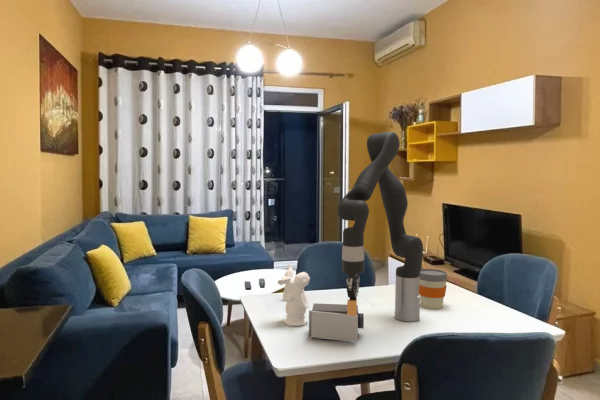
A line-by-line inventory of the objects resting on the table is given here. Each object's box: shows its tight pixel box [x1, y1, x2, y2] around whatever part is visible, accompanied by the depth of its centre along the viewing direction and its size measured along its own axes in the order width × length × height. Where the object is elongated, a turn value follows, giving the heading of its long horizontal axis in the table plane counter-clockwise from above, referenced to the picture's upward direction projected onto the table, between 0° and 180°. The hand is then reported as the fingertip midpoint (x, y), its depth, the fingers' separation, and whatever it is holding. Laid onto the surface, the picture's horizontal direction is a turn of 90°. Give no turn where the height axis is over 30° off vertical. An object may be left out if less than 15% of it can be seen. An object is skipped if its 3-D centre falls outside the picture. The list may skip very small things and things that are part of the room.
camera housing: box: [311, 303, 365, 340], centre depth 162 cm, size 18×8×10 cm, turn 84°
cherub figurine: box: [277, 263, 311, 327], centre depth 174 cm, size 12×12×22 cm
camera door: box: [308, 299, 359, 343], centre depth 156 cm, size 17×1×14 cm, turn 74°
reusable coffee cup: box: [419, 268, 448, 310], centre depth 198 cm, size 13×13×15 cm
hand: (353, 307), depth 157 cm, fingers closed
